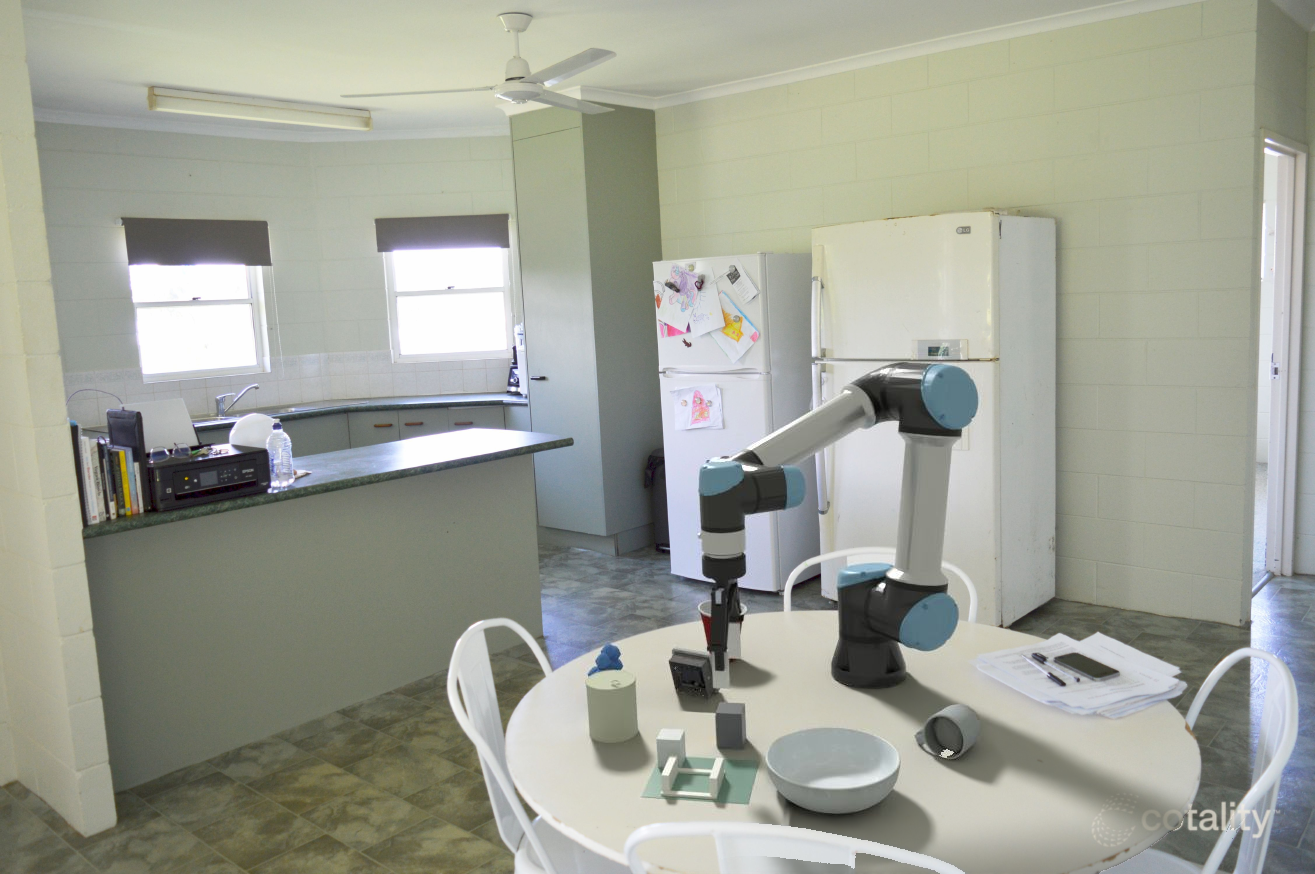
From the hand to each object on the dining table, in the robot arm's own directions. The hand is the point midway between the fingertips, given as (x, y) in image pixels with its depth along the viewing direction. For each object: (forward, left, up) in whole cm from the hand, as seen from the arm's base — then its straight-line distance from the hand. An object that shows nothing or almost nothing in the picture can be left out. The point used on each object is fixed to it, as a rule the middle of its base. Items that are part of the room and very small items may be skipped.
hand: (727, 672), depth 168 cm
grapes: (+28, -17, -15) cm, 36 cm away
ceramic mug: (-37, -6, -15) cm, 40 cm away
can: (+22, -2, -15) cm, 26 cm away
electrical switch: (+11, -24, -15) cm, 30 cm away
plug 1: (+9, +8, -13) cm, 18 cm away
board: (+3, +13, -15) cm, 20 cm away
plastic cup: (+8, -43, -15) cm, 46 cm away
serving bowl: (-18, +13, -15) cm, 27 cm away
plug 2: (0, 0, -15) cm, 15 cm away
